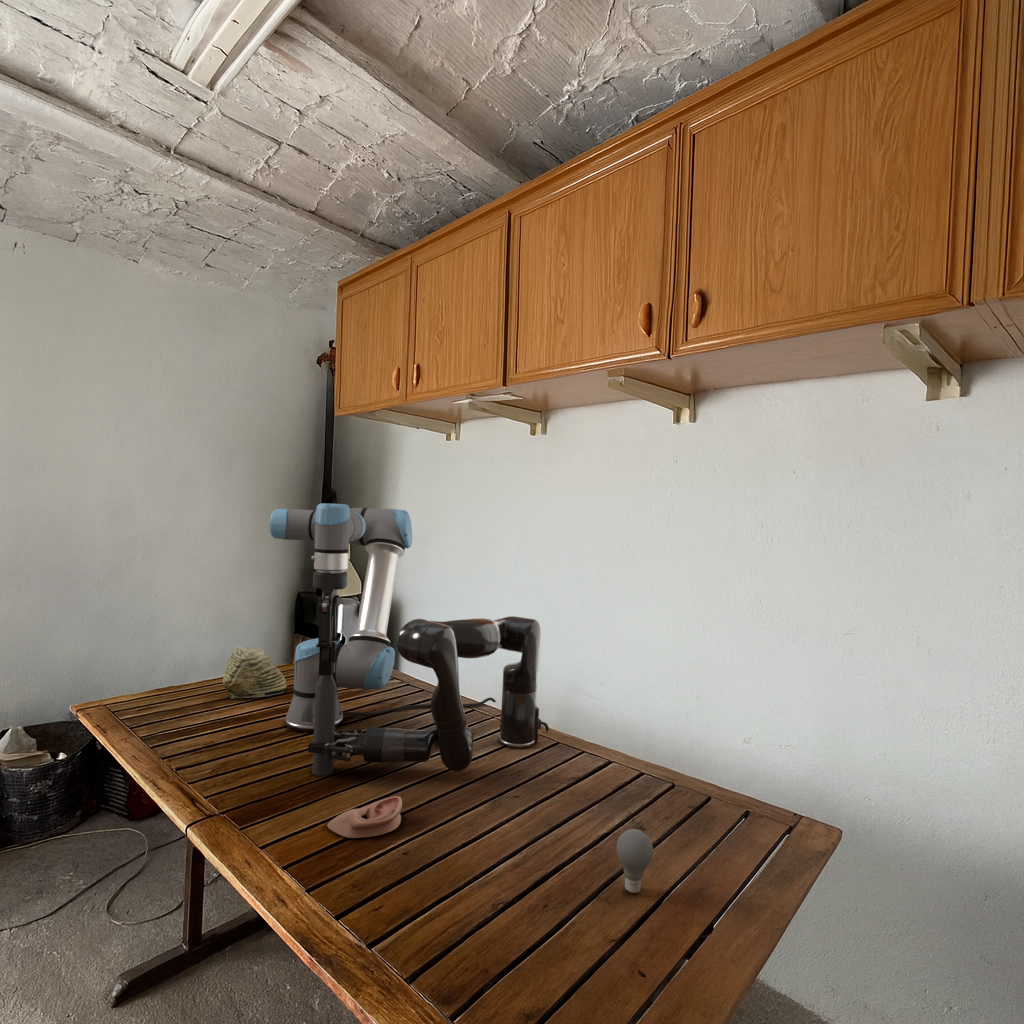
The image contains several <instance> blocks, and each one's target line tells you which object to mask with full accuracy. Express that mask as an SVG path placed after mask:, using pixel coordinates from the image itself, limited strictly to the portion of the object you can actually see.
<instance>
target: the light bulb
mask: <svg viewBox="0 0 1024 1024" xmlns="http://www.w3.org/2000/svg"><path fill="white" fill-rule="evenodd" d="M615 849H616V854H617V857H618V859H619V861H620V863H621V865H622V867H623V873H624V874H623V875H624V876H625V878H624V888H625V890H627V891H628V892H630V893H634V894H635V893H639V892H640V891H641V889H642V887H641V886H642V879H643V877H644V875H645V871H646V868H647V867H648V866H649V864H650V863H651V861H652V859H653V855H654V847H653V843H652V841H651V838H649V836H648V835H647V834H646V833H645V832H643V831H642V830H641V829H636V828H629V829H627V830H625V831H623V832H622V833H621V834H620V835H619V837H618V839H617V841H616V847H615Z"/></svg>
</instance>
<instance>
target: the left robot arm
mask: <svg viewBox="0 0 1024 1024" xmlns="http://www.w3.org/2000/svg"><path fill="white" fill-rule="evenodd" d="M268 524H269V525H268V528H269V533H270V535H271V536H272V537H273V538H274V539H278V540H284V541H285V540H289V541H292V540H293V541H312V542H313V541H314V549H313V551H314V553H313V554H314V555H311V557H310V558H311V560H312V561H314V562H313V569H314V570H315V571H314V572H313V573H312V574H313V576H312V587H313V588H314V589H316V590H322V594H321V596H319V600H318V637H316V638H312V639H307V640H304V641H302V642H300V643H298V644H297V645H296V647H295V655H294V659H293V661H294V670H293V671H294V672H293V695H292V696H293V697H292V699H291V702H290V704H289V708H288V711H287V713H286V715H285V726H286V728H287V729H289V730H291V731H294V732H295V731H296V732H301V733H314V718H315V691H316V684H317V682H318V681H319V679H320V677H321V676H331V674H332V676H333V678H334V681H335V683H336V686H337V688H336V714H335V728H337V727H339V726H340V725H342V723H343V722H344V716H364V717H366V716H367V717H368V716H369V717H370V716H377V715H381V714H382V715H383V714H387V713H390V712H394V711H400V710H407V709H408V710H409V709H419V708H431V705H430V704H431V703H422V704H411V705H409V704H408V705H402V706H401V705H400V706H395V707H391V708H386V709H382V710H378V711H371V712H370V711H369V712H361V711H343V709H342V706H341V702H340V699H339V695H338V688H340V689H341V688H342V689H359V690H365V691H370V690H382V689H383V688H384V687H385V686H387V684H388V683H389V681H390V678H391V677H392V676H391V675H392V673H393V671H394V666H395V657H396V652H395V651H396V650H395V649H394V647H392V646H391V641H390V639H389V638H388V636H387V633H388V625H389V621H390V620H389V619H390V614H391V608H392V607H391V606H392V600H393V594H394V587H395V582H396V575H397V568H398V561H399V559H400V558H402V557H403V556H404V555H405V550H406V549H410V548H411V547H412V544H413V526H412V519H411V516H410V514H409V512H408V511H407V510H404V509H397V508H376V507H351V508H350V506H349V505H348V504H344V503H323V502H322V503H318V505H317V506H316V508H315V509H313V510H312V509H297V508H275V509H274V510H273V511H272V512H271V514H270V516H269V521H268ZM349 545H353V546H364V547H365V551H366V552H367V554H368V561H367V566H366V572H365V577H364V583H363V589H362V594H361V599H360V605H359V612H358V616H357V623H356V628H355V632H354V633H352V634H351V635H350V636H348V641H347V644H344V643H343V644H342V643H341V641H340V637H338V621H339V604H340V595H339V594H338V591H339V590H344V589H346V588H347V587H348V573H347V570H348V569H349ZM332 662H335V672H334V673H332ZM318 669H319V672H318ZM489 701H491V702H493V703H496V702H497V700H496V698H493V697H487V698H484V699H483V700H481V701H479V702H475V703H474V702H473V703H462V705H463V708H472V707H478V706H482V705H484V704H486V703H488V702H489Z"/></svg>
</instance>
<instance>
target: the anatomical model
mask: <svg viewBox="0 0 1024 1024" xmlns="http://www.w3.org/2000/svg"><path fill="white" fill-rule="evenodd" d="M402 808H403V799H402V797H401V796H399V795H395V796H389V797H385V798H383V799H379V800H376V801H374V802H372V803H369V804H367V805H365V806H362V807H359V808H353V809H349V810H346V811H344V812H341V813H340V814H338V815H337V816H335V817H334V818H332V819H331V820H330V821H329V822H328V823H327V828H328V829H329V830H330V831H331V832H333V833H335V834H337V835H339V836H340V837H341V836H342V837H344V838H347V839H360V838H370V837H371V838H372V837H377V836H382V835H384V834H387V833H390V832H392V831H394V830H396V829H397V828H398V827H399V826H400V824H401V822H402V815H401V811H402Z"/></svg>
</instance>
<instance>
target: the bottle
mask: <svg viewBox="0 0 1024 1024" xmlns="http://www.w3.org/2000/svg"><path fill="white" fill-rule="evenodd" d="M336 688H337V689H338V687H337V686H336V683H335V681H334V678H333V676H332V674H331V676H321V677H320V679H319V681H318V682H317V684H316V691H315V718H314V732H313V742H326V743H327V742H334V740H335V732H336V727H335V714H336ZM332 751H333V750H332ZM333 755H335V754H333ZM334 760H335V759H328V758H326V755H325V753H312V774H313V775H315V776H318V777H324V776H330V775H331V774H332V773H333V772H334V762H335V761H334Z"/></svg>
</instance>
